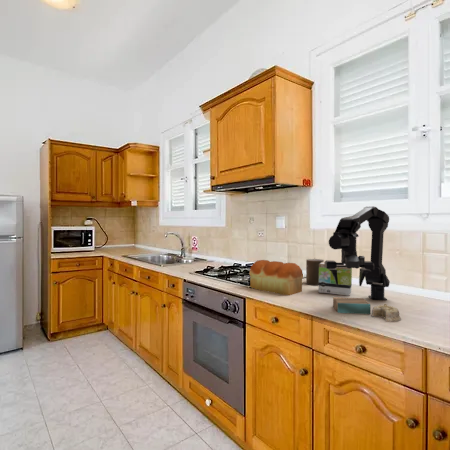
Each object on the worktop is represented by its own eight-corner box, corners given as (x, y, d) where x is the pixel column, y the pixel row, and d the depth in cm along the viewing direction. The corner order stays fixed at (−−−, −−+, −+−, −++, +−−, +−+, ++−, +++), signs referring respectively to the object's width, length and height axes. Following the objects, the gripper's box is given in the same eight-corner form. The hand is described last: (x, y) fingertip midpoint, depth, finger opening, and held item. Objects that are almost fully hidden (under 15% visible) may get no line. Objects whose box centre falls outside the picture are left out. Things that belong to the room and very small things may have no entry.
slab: (333, 297, 135) (338, 303, 125) (363, 298, 133) (370, 304, 123) (333, 306, 135) (337, 313, 125) (363, 307, 133) (370, 314, 123)
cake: (382, 312, 126) (382, 299, 126) (407, 319, 117) (407, 305, 117) (365, 316, 121) (365, 302, 121) (390, 324, 112) (390, 308, 112)
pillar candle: (319, 286, 177) (319, 258, 176) (303, 283, 183) (303, 257, 183) (326, 283, 184) (326, 257, 184) (310, 281, 190) (310, 256, 190)
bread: (303, 292, 162) (303, 263, 162) (289, 296, 153) (289, 265, 153) (263, 285, 180) (263, 258, 179) (249, 288, 171) (249, 260, 170)
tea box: (318, 293, 159) (318, 263, 159) (321, 289, 168) (321, 261, 168) (350, 296, 153) (350, 265, 153) (351, 292, 162) (352, 262, 162)
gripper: (329, 249, 126) (328, 289, 126) (379, 250, 123) (378, 290, 124) (324, 247, 137) (324, 283, 137) (370, 247, 134) (370, 284, 135)
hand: (348, 285), depth 133 cm, fingers open, 9 cm apart
